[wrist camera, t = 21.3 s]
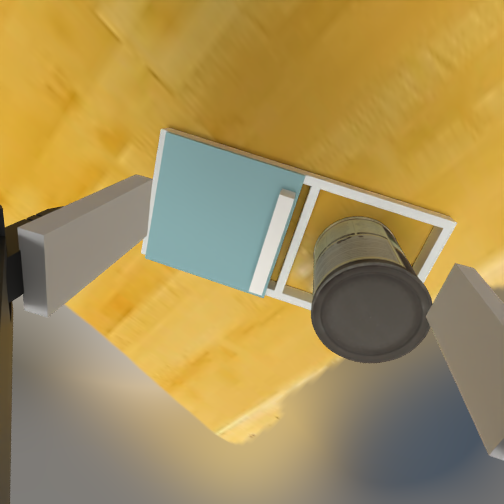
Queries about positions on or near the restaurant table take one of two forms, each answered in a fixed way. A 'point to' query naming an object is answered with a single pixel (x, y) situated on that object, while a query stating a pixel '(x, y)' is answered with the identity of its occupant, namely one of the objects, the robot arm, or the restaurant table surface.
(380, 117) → the restaurant table surface
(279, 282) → the sliding panel frame
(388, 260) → the coffee can
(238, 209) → the cover
